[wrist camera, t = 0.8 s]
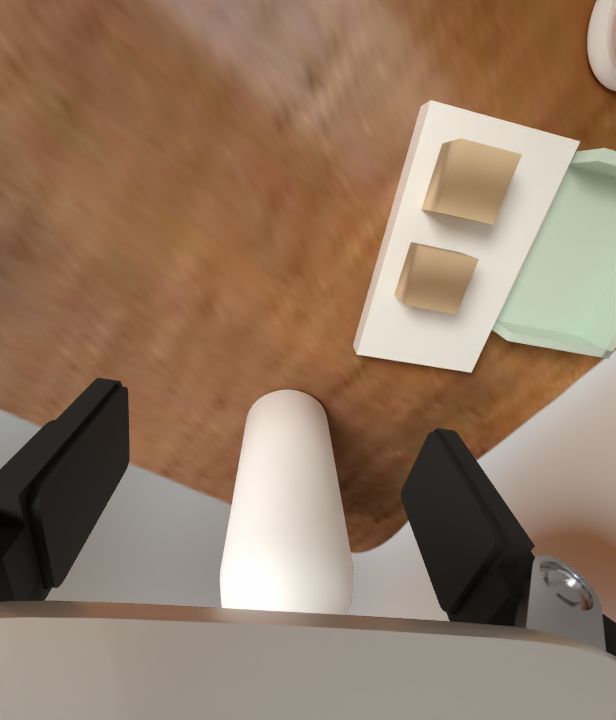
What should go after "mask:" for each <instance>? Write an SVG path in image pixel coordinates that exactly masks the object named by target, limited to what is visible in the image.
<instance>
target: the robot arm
mask: <svg viewBox="0 0 616 720" xmlns="http://www.w3.org/2000/svg"><path fill="white" fill-rule="evenodd" d="M129 457H130V456H129V410H128V389H127V387H122V384H121V382H120V381H116V380H109V379H102V378H97V379H96V380H95V381H94V382H93V383H92V384H91V385H90V386H89V387H88V388H87V389H86V390H85V391H84V392H83V393H82V394H81V395H80V396H79V397H78V398H77V399H76V400H75V401H74V402H73V403H72V404H71V405H70V406H69V407H68V408H67V409H66V410H65V411H64V412H63V413H62V414H61V415H60V416H59V417H58V418H57V419H56V420H53V421H50V422H48V423H47V424H46V425H44V426H43V427H42V428H41V430H39V431H38V433H36V434H35V435H34V436H33V437H32V438H31V439H30V440H29V442H27V443H26V444H25V446H23V447H22V448H21V449H20V450H19V451H18V452H17V453H16V454H15V455H14V456H13V457H12V458H11V459H10V460H9V461H8V462H7V463H6V464H5V465H4V466H3V467H2V468H1V469H0V720H616V623H615V622H613V621H612V620H611V619H609V618H608V617H606V616H605V615H604V614H602V608H601V604H600V600H599V598H598V596H597V594H596V593H595V591H594V589H593V588H592V587H591V585H590V584H589V583H588V582H587V580H586V579H585V578H583V577H582V575H580V574H579V573H578V572H577V571H576V570H575V569H574V568H572V567H571V566H569V565H568V564H567V563H565V562H563V561H561V560H559V559H557V558H555V557H552V556H548V555H539V556H538V557H536V558H535V557H534V556H533V554H532V552H531V550H532V549H533V547H534V546H535V545H534V544H533V543H532V541H531V540H530V538H529V537H528V535H527V534H526V532H525V531H524V529H523V528H522V527H521V525H520V524H519V522H518V521H517V519H516V518H515V516H514V515H513V513H512V512H511V511H510V509H509V508H508V506H507V505H506V503H505V502H504V500H503V499H502V497H501V496H500V494H499V493H498V492H497V490H496V489H495V487H494V486H493V484H492V483H491V481H490V480H489V479H488V477H487V476H486V474H485V473H484V471H483V470H482V468H481V467H480V465H479V464H478V462H477V461H476V460H475V458H474V457H473V455H472V454H471V452H470V451H469V449H468V448H467V446H466V445H465V444H464V442H463V441H462V439H461V438H460V436H459V435H458V433H457V432H456V431H453V430H447V429H440V428H437V429H435V430H434V431H433V432H430V433H429V434H428V436H427V438H426V440H425V442H424V444H423V446H422V449H421V451H420V453H419V455H418V457H417V459H416V461H415V463H414V465H413V467H412V469H411V472H410V474H409V476H408V478H407V480H406V482H405V484H404V486H403V488H402V492H401V499H402V503H403V505H404V508H405V511H406V514H407V516H408V519H409V522H410V525H411V527H412V530H413V533H414V536H415V538H416V541H417V544H418V547H419V549H420V552H421V555H422V558H423V560H424V563H425V566H426V569H427V571H428V574H429V577H430V580H431V582H432V585H433V588H434V591H435V593H436V596H437V599H438V601H439V604H440V606H441V608H442V610H443V611H445V612H447V615H448V618H449V620H450V621H435V620H418V619H403V618H387V617H372V616H355V615H338V614H321V613H303V612H286V611H268V610H250V609H232V608H212V607H192V606H174V605H154V604H134V603H107V602H77V601H44V600H45V599H46V597H47V595H48V593H49V592H50V590H51V588H52V587H54V588H57V587H59V586H60V585H61V584H62V583H63V581H64V579H65V578H66V576H67V574H68V572H69V570H70V569H71V567H72V565H73V563H74V562H75V560H76V558H77V556H78V554H79V553H80V551H81V549H82V547H83V546H84V544H85V542H86V540H87V539H88V536H89V535H90V533H91V531H92V530H93V528H94V526H95V524H96V523H97V521H98V519H99V517H100V515H101V514H102V512H103V510H104V508H105V507H106V505H107V503H108V501H109V499H110V498H111V496H112V494H113V492H114V491H115V489H116V487H117V485H118V483H119V482H120V480H121V478H122V476H123V475H124V473H125V471H126V469H127V466H128V463H129Z"/></svg>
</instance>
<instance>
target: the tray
mask: <svg viewBox="0 0 616 720" xmlns="http://www.w3.org/2000/svg"><path fill="white" fill-rule="evenodd" d="M492 330H493V331H494V332H496V333H497V334H499V335H500V336H501V337H503V338H504V339H506V340H507V341H511V342H517V343H522V344H528V345H534V346H539V347H545V348H551V349H556V350H562V351H568V352H573V353H579V354H585V355H590V356H596V357H602V358H609V357H610V355H611V354H612V352H613V351H614V349H615V348H616V151H614V150H610V149H606V148H600V149H592V150H584V151H576V152H575V154H574V156H573V158H572V160H571V162H570V164H569V166H568V168H567V171H566V173H565V175H564V177H563V179H562V181H561V183H560V185H559V188H558V190H557V192H556V194H555V196H554V198H553V200H552V202H551V205H550V207H549V209H548V211H547V213H546V215H545V217H544V219H543V222H542V224H541V226H540V228H539V230H538V232H537V234H536V236H535V239H534V241H533V243H532V245H531V247H530V249H529V251H528V253H527V256H526V258H525V260H524V262H523V264H522V266H521V268H520V270H519V273H518V275H517V277H516V279H515V281H514V283H513V285H512V287H511V290H510V292H509V294H508V296H507V298H506V300H505V302H504V305H503V307H502V309H501V311H500V313H499V315H498V317H497V319H496V322H495V324H494V326H493V328H492Z"/></svg>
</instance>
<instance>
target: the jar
mask: <svg viewBox="0 0 616 720" xmlns="http://www.w3.org/2000/svg"><path fill="white" fill-rule="evenodd" d="M587 52H588V59H589V63H590V66H591V69H592V71H593V73H594V75H595V76H596V78H597V79H598V81H599V82H600V83H601V84H603V85H604V86H605V87H607V88H608V89H610V90H613V91H616V0H596V3H595V5H594V8H593V11H592V15H591V18H590V22H589V28H588V35H587Z"/></svg>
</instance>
